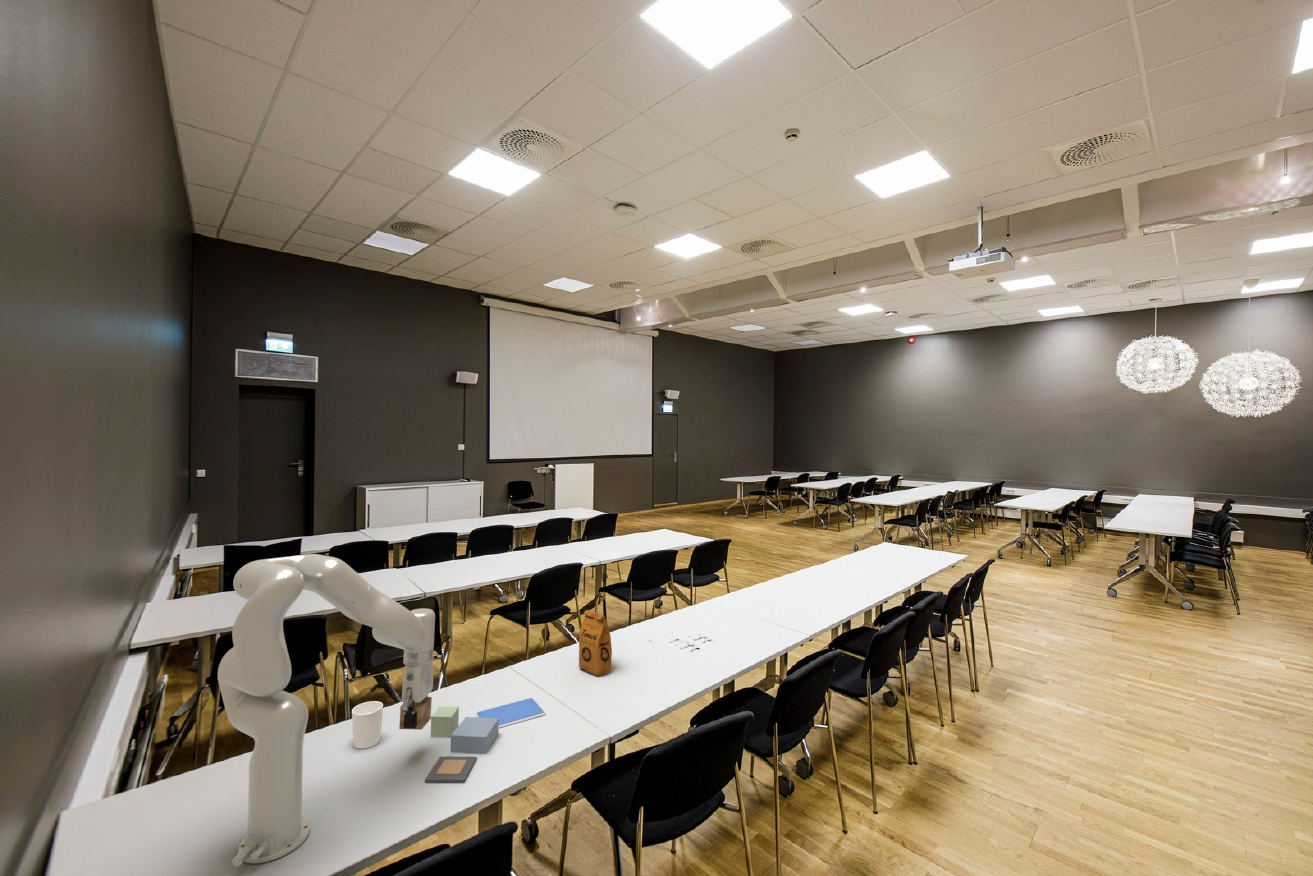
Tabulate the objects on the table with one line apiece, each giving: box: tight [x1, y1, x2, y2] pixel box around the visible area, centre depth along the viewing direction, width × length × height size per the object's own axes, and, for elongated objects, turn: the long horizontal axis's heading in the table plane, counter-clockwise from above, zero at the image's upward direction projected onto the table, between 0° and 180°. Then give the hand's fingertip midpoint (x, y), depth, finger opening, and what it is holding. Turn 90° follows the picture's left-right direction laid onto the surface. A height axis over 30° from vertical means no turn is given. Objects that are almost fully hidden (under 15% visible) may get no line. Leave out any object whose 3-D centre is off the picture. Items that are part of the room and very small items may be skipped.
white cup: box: [351, 700, 384, 750], centre depth 154 cm, size 8×8×10 cm
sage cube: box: [430, 706, 460, 738], centre depth 160 cm, size 6×6×6 cm
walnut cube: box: [399, 696, 433, 730], centre depth 147 cm, size 6×6×6 cm
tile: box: [424, 755, 478, 784], centre depth 141 cm, size 10×10×1 cm
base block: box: [450, 716, 500, 755], centre depth 154 cm, size 10×10×5 cm
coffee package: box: [578, 609, 613, 678], centre depth 204 cm, size 10×12×22 cm
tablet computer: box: [474, 697, 546, 729], centre depth 170 cm, size 19×13×1 cm, turn 123°
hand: (415, 721), depth 147 cm, fingers closed on walnut cube, 6 cm apart
